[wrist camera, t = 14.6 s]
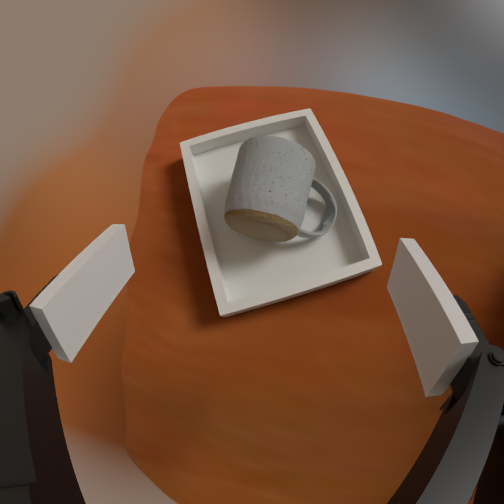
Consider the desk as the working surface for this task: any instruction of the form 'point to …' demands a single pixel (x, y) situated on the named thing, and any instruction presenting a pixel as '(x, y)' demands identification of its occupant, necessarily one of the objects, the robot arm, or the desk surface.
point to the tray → (266, 252)
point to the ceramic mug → (274, 191)
